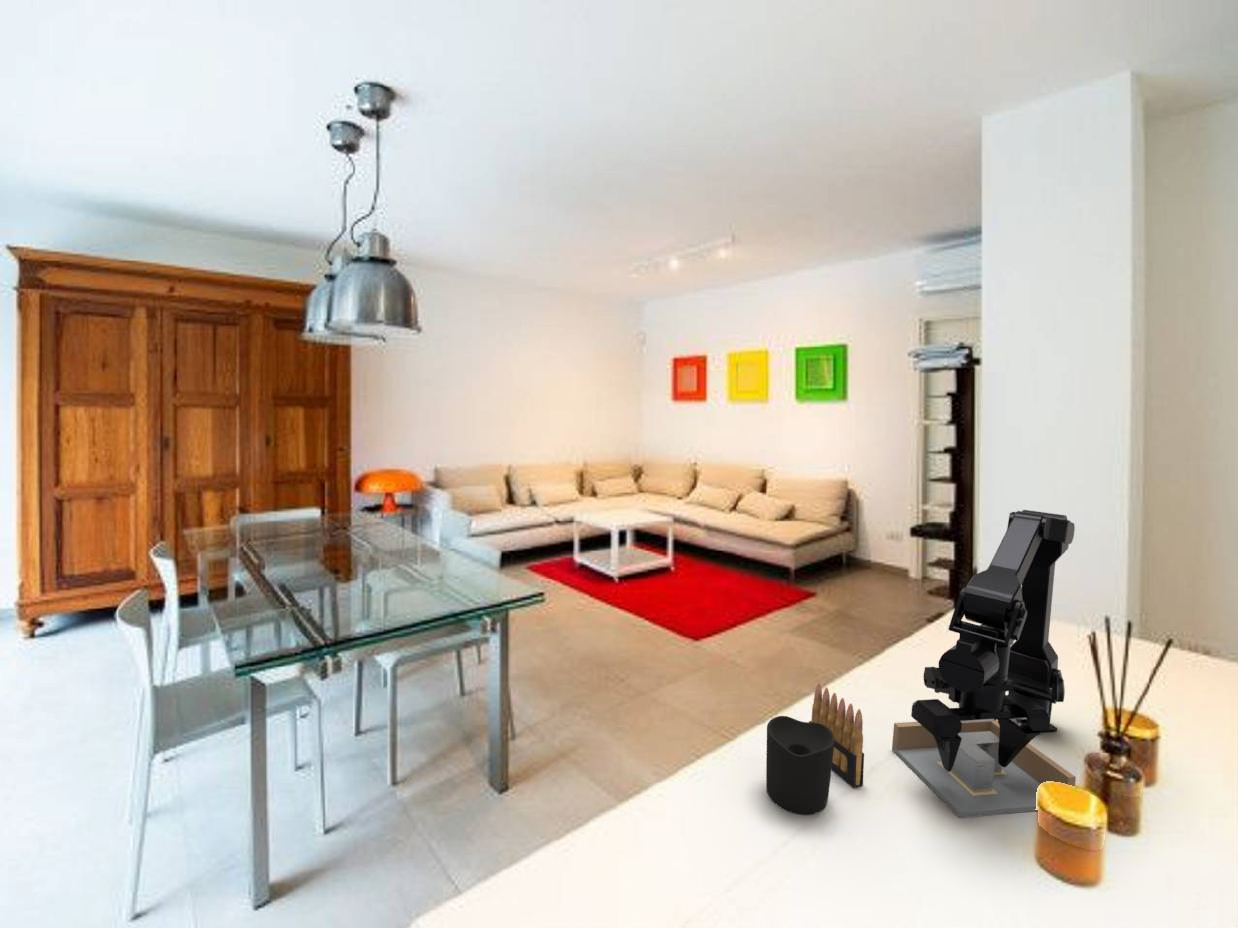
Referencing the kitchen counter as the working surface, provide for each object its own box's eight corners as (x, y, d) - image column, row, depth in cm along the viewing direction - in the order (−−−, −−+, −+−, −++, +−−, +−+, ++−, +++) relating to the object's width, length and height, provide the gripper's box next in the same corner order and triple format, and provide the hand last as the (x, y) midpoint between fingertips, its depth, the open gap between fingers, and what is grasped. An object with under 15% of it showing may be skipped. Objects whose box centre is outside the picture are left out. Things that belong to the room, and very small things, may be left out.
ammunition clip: (863, 785, 90) (868, 711, 88) (853, 788, 89) (859, 713, 88) (815, 746, 99) (819, 678, 98) (806, 748, 99) (810, 680, 97)
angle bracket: (1022, 788, 88) (1025, 757, 88) (973, 792, 87) (976, 760, 87) (986, 760, 95) (989, 730, 95) (941, 763, 94) (944, 733, 94)
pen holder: (795, 826, 81) (799, 758, 80) (750, 785, 89) (753, 723, 88) (844, 805, 85) (849, 740, 84) (797, 768, 93) (800, 709, 92)
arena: (988, 743, 101) (991, 716, 101) (1072, 807, 86) (1075, 776, 85) (891, 749, 99) (894, 722, 98) (959, 817, 83) (962, 785, 83)
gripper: (999, 643, 96) (989, 733, 98) (893, 648, 94) (886, 740, 96) (1058, 676, 85) (1047, 776, 87) (940, 682, 83) (931, 785, 85)
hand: (974, 767), depth 89 cm, fingers open, 9 cm apart
